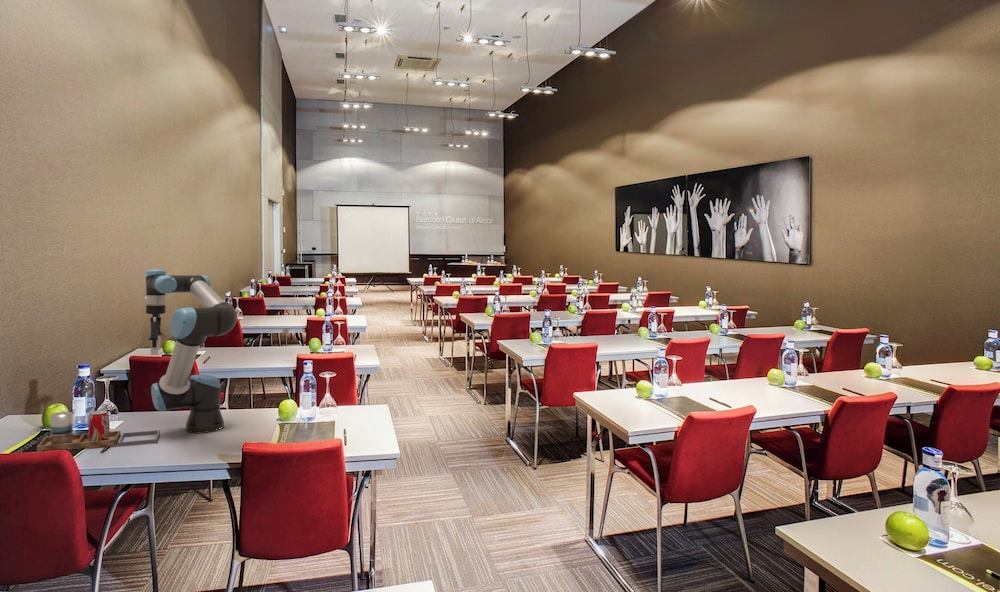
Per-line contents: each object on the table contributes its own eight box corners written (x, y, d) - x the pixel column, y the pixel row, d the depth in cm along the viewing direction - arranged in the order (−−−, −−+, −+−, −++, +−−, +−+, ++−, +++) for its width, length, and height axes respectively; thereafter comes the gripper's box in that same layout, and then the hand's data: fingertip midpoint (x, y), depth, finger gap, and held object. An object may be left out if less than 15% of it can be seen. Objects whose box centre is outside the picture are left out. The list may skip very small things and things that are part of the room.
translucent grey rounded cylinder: (74, 441, 244) (74, 411, 243) (70, 446, 238) (70, 415, 237) (52, 442, 241) (52, 412, 240) (48, 448, 235) (48, 417, 234)
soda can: (99, 445, 240) (98, 414, 239) (83, 443, 242) (83, 413, 241) (113, 439, 247) (113, 410, 246) (98, 438, 249) (98, 409, 248)
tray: (159, 433, 259) (159, 430, 259) (157, 443, 247) (157, 439, 247) (122, 436, 254) (122, 432, 254) (117, 446, 241) (117, 442, 241)
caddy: (120, 436, 253) (120, 430, 253) (116, 446, 241) (116, 440, 241) (45, 442, 243) (45, 436, 242) (36, 452, 231) (36, 446, 231)
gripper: (148, 302, 281) (148, 348, 282) (143, 307, 258) (143, 357, 260) (167, 302, 284) (167, 347, 285) (163, 307, 261) (163, 356, 263)
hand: (155, 352), depth 272 cm, fingers open, 13 cm apart
